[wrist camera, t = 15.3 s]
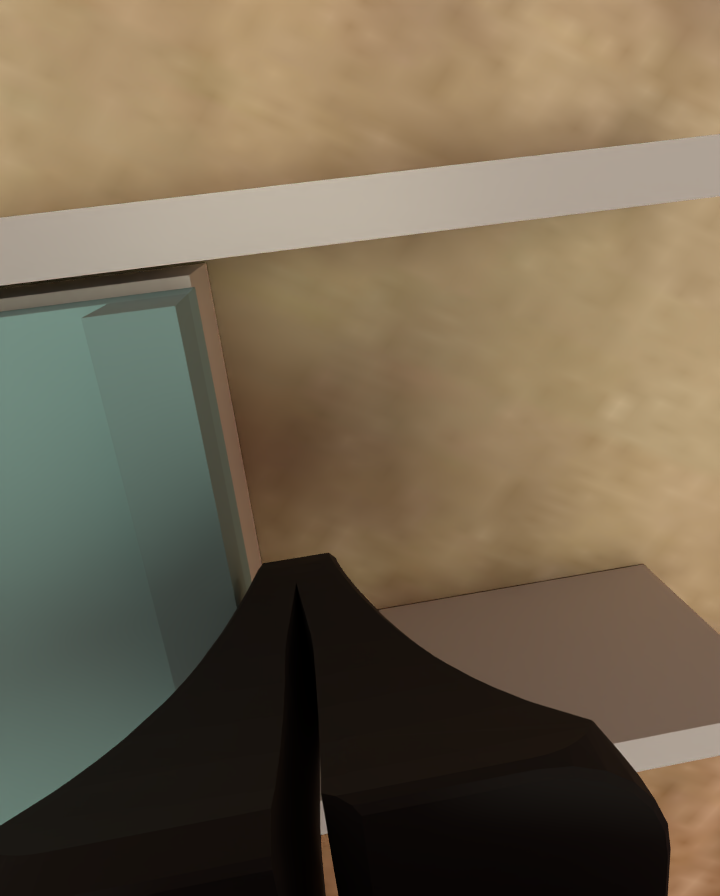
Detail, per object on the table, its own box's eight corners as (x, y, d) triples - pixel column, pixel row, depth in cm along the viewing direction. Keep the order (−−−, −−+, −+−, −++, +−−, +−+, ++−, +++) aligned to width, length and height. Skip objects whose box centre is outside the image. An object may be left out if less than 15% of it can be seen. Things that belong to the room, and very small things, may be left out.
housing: (642, 589, 23) (793, 740, 16) (-73, 715, 21) (-229, 944, 14) (658, 151, 18) (880, 114, 12) (-262, 260, 16) (-624, 290, 10)
